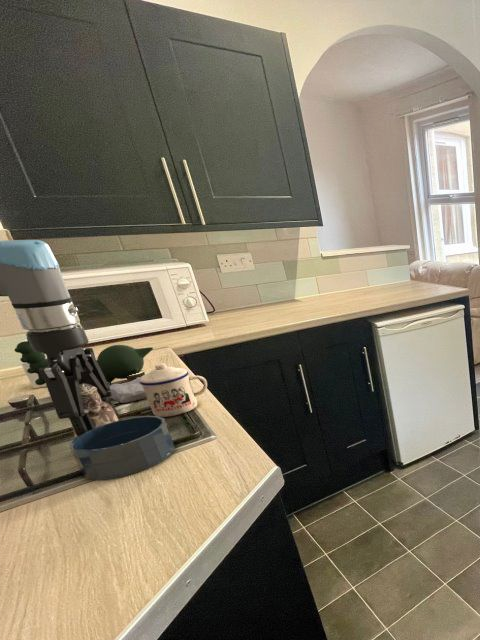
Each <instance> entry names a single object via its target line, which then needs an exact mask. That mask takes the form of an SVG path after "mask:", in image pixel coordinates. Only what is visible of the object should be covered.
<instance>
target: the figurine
mask: <svg viewBox="0 0 480 640" xmlns="http://www.w3.org/2000/svg"><path fill="white" fill-rule="evenodd" d="M79 386H80V391H81V396H82V402H83V407H84V412H85V414H86V413H89V416H90V418H91V420H92V422H93V425H94V427H95V428H97V427H99V426H102V425H105V424H108V423H111V422H115V421H118V420H119V417H118V416H117V414H116V412H115V411H114V408H113V406H112V405H111V404H110V403H109V404H108V403H106V402H103V401H102V400H101V398H100V396H99V394H98V392H97V388H96V387H94V386H91V385H89V384H79ZM71 428H72V430H73V431H72V432H73V436H74V439H75V438H76V437H77V435H76V432H75V430H74V428H73V426H72V425H71Z"/></svg>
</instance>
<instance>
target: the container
mask: <svg viewBox="0 0 480 640" xmlns="http://www.w3.org/2000/svg"><path fill="white" fill-rule="evenodd" d="M24 341H28V340H27V338H26V339H23V340H21V341H19V343H20V342H24ZM19 343H18V344H19ZM45 356H46V354H45ZM45 358H46V359H47V356H46V357H45ZM20 365H21V366H22V368H23V371H24V372H25V374H26V376H27V378H28V381H29V383H30V385H31V387H32V388H33V389H39V388H46V387H47V386H46V383H45V384H44V385H37V384H36V383H35V381H36V380H37V379H38V378H39V377H38V374H37V373H33V374H31V373H28V372H27V370H28V369H29V368H30V367H29V365H30V364H29V363H25V362H22V361H21V363H20Z"/></svg>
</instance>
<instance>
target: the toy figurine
mask: <svg viewBox="0 0 480 640" xmlns="http://www.w3.org/2000/svg"><path fill="white" fill-rule="evenodd" d="M26 339H27V340H28V338H27V337H26ZM19 342H20V343H18V344H17V345H16V347H15V348H14V352H15V353H18V354H21V357H20V358H19V360H20V362H21V363H22V362H25V363H29V364H30V365H29V367H30V368H29V369H28V370H27V372H28V373H31V374H33V373H37V374H38V377H39V378H38V379H37V380H36V381H35V383H36V384H37V385H44V384H45V381H44V379H43V378H42V376H41V375H40V373H39V369H40V368H46V367H47V366H48V362H47V359H46V358H45V357H46V356H45V354H44V353H42V352H41V353H39V352H36V351H34V350H33V349H32V347H31V344H30V342H29V340H28V341H24V342H21V341H19ZM153 350H154V348H153V347H151V346H150V347H141V348H135V347H132V346H130V345H127V344H126V345H125V344H113V345H110V346H107V347H106V348H104V349H103V350H101V351H100V352H99V354H98V356H97V358H96V360H97V363H98V365H99V367H100V369H101V371H102V373H103V375H104V377H105V379H106V381H107V382H109V383H110V385H112V382H113V381H115V379H117V380H124V379H128V378H127V376H129V375H132V374H136V373H139V372H140V373H141V371H142V370H143V369H144V364H145V359H144V358H145V357H146V356H147V355H149V354H150V353H151V352H152V351H153ZM70 377H73V376H70ZM66 378H67V377H66ZM129 382H131V381H129ZM79 384H80V383H79ZM109 387H110V386H109Z"/></svg>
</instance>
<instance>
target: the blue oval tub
mask: <svg viewBox="0 0 480 640" xmlns="http://www.w3.org/2000/svg"><path fill="white" fill-rule="evenodd" d="M175 448H176V447H175V444H174V441H173V437H172V436H171V432H170V430H169V428H168V425H167V423H166V420H165V417H159V416H155V415H143V416H133V417H128V418H123V419H118V421H115V422H111V423H108V424H105V425H102V426H99V427H97V428H94V429H91V430H89V431H87V432H85V433H83V434H81V435H80V436H78V437H76V438H75V437H74V439H73V440H72V441H70V444H69V449H70V451H71V453H72V455H73V457H74V459H75V462H76V463H77V466H78V467H79V469H80V472H81V473H82V475H83V476H84V477H85V478H87V479H89V480H95V481H105V480H113V479H119V478H123V477H126V476H130V475H133V474H136V473H140V472H142V471H144V470H147V469H150V468H151V467H154V466H156V465H158V464H160V463H162V462H163V461H165V460H166V459H168V458H169V457H170V456H171V455H172V454H173V453H174V451H175Z"/></svg>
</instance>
